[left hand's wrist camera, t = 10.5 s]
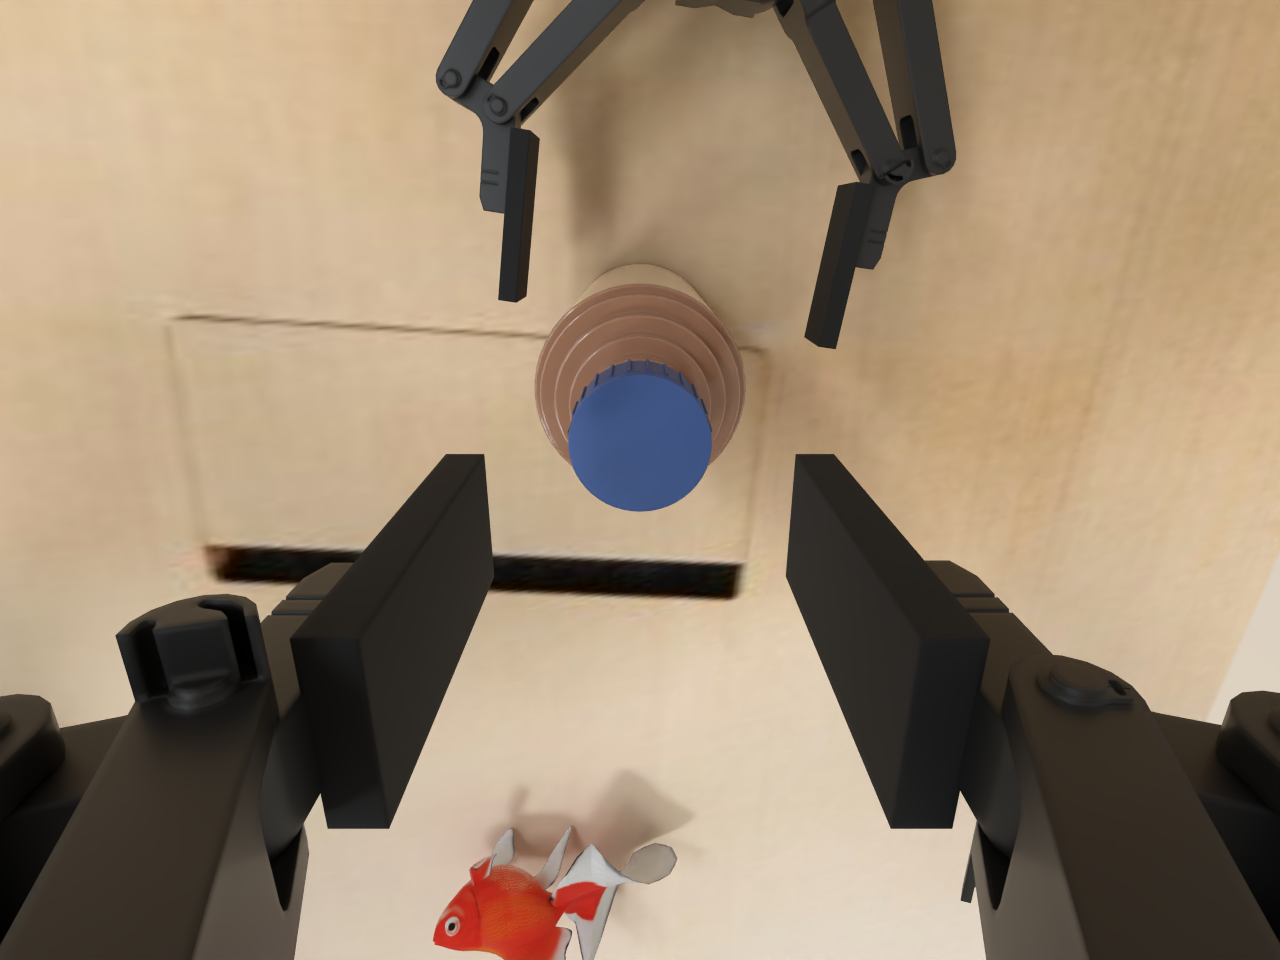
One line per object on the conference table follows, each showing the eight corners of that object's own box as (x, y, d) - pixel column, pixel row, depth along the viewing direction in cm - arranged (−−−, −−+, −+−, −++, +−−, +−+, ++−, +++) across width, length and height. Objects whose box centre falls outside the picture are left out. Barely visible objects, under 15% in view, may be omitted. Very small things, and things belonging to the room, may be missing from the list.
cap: (576, 488, 21) (570, 514, 19) (569, 359, 20) (562, 373, 18) (705, 486, 21) (712, 512, 19) (707, 357, 20) (714, 370, 18)
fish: (430, 807, 42) (460, 997, 35) (658, 750, 49) (719, 901, 42) (419, 877, 49) (443, 1048, 42) (622, 819, 55) (670, 958, 49)
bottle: (573, 406, 38) (515, 565, 20) (566, 264, 36) (491, 304, 18) (709, 403, 38) (769, 560, 20) (711, 261, 36) (783, 298, 18)
